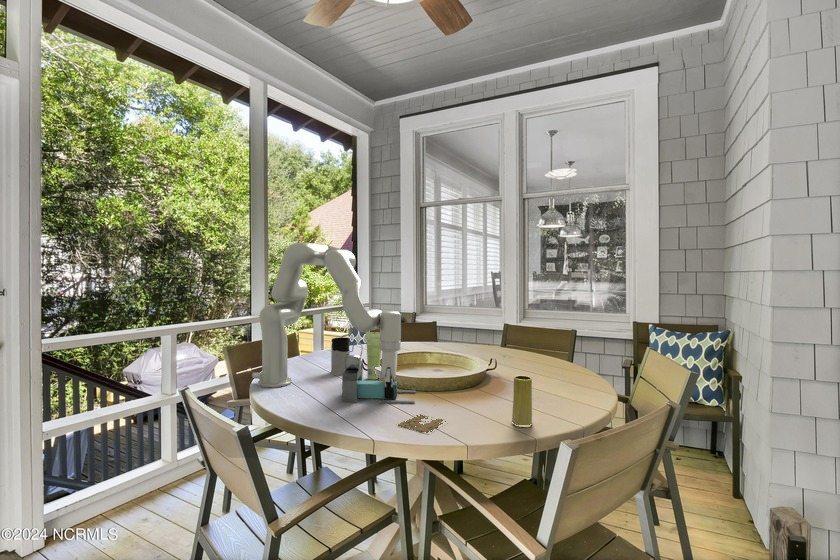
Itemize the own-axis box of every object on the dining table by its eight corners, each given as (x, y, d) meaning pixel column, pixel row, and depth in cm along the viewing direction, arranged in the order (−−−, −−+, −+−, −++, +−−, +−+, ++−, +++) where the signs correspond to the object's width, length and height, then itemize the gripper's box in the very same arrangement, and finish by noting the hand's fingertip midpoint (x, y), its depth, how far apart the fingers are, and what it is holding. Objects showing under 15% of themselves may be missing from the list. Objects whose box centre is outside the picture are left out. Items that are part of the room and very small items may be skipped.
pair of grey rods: (379, 403, 149) (379, 401, 149) (383, 391, 162) (383, 390, 162) (414, 403, 149) (414, 402, 149) (415, 392, 162) (415, 390, 162)
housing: (342, 402, 149) (342, 359, 149) (349, 391, 162) (349, 351, 162) (356, 402, 149) (356, 359, 149) (362, 391, 162) (362, 351, 162)
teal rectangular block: (348, 397, 154) (348, 383, 153) (350, 393, 158) (350, 380, 158) (396, 398, 153) (396, 384, 153) (397, 394, 158) (397, 381, 158)
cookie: (417, 415, 139) (417, 412, 139) (450, 423, 132) (450, 420, 132) (394, 426, 129) (394, 423, 129) (428, 436, 122) (429, 432, 122)
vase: (509, 420, 134) (510, 375, 133) (528, 420, 134) (529, 374, 134) (515, 428, 127) (516, 380, 127) (535, 427, 128) (536, 380, 127)
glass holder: (334, 370, 194) (334, 336, 194) (364, 371, 192) (365, 337, 192) (327, 375, 186) (327, 340, 185) (359, 376, 184) (359, 341, 183)
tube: (376, 376, 185) (376, 330, 184) (383, 378, 181) (383, 332, 180) (364, 378, 181) (365, 331, 180) (371, 380, 177) (371, 333, 176)
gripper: (382, 341, 163) (381, 389, 164) (376, 350, 146) (376, 403, 147) (402, 341, 163) (401, 389, 164) (398, 350, 146) (398, 403, 147)
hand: (389, 395), depth 156 cm, fingers closed on teal rectangular block, 4 cm apart
